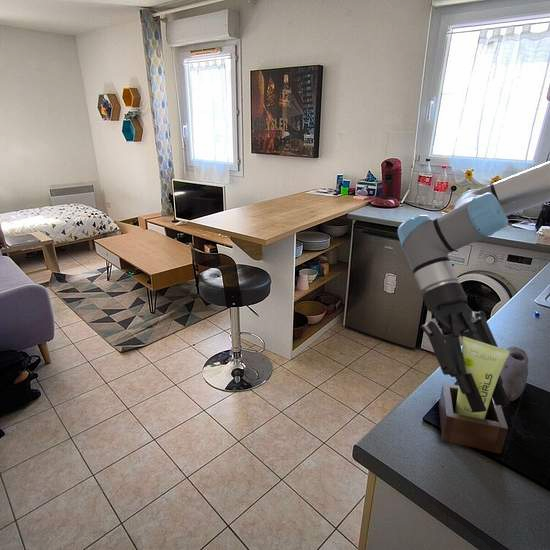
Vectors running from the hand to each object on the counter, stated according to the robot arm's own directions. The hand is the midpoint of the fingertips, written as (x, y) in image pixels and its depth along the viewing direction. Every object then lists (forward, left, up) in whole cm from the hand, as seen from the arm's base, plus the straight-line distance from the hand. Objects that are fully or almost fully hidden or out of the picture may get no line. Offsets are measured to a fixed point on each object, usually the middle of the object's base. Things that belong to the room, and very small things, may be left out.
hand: (491, 407), depth 65 cm
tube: (+3, -3, -8) cm, 9 cm away
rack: (+2, -3, -8) cm, 9 cm away
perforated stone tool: (-8, -19, -8) cm, 22 cm away
